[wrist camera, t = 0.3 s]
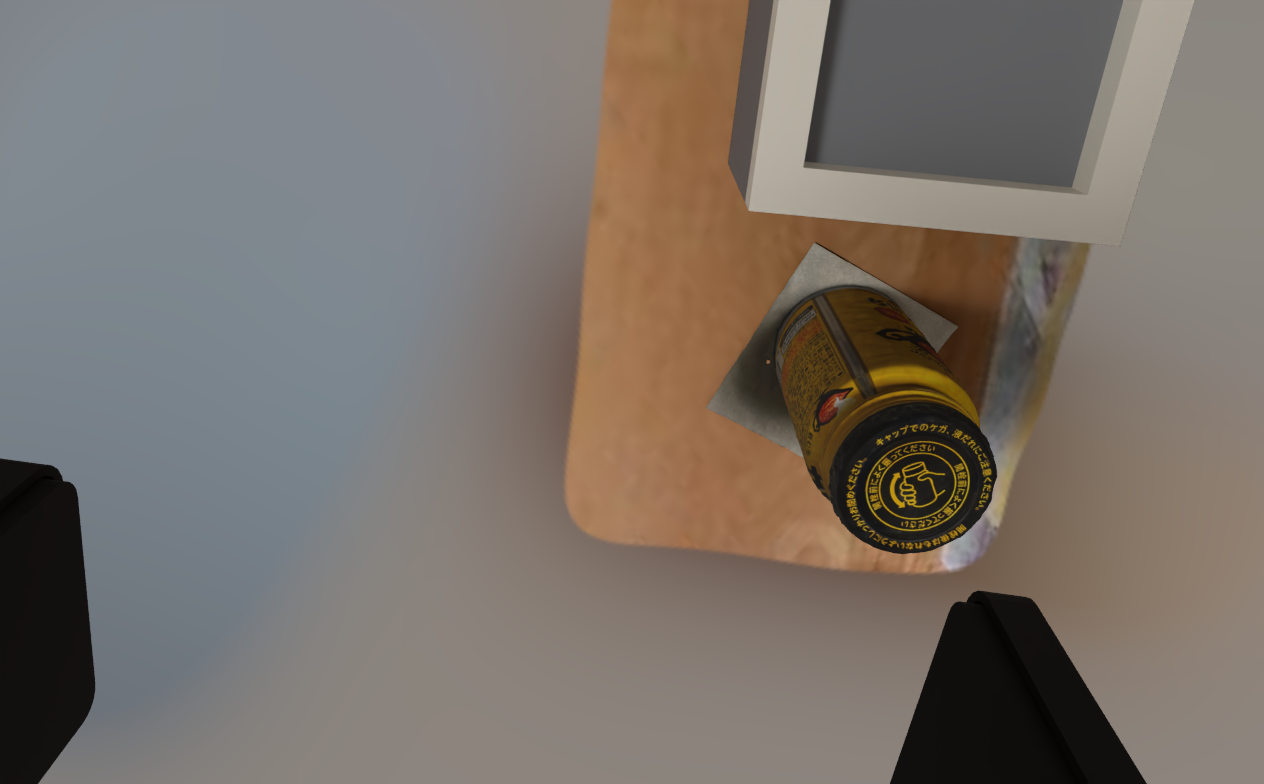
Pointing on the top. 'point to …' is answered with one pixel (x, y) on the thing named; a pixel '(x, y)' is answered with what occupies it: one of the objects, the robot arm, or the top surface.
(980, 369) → the top surface
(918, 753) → the robot arm
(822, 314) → the condiment
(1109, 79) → the stand
